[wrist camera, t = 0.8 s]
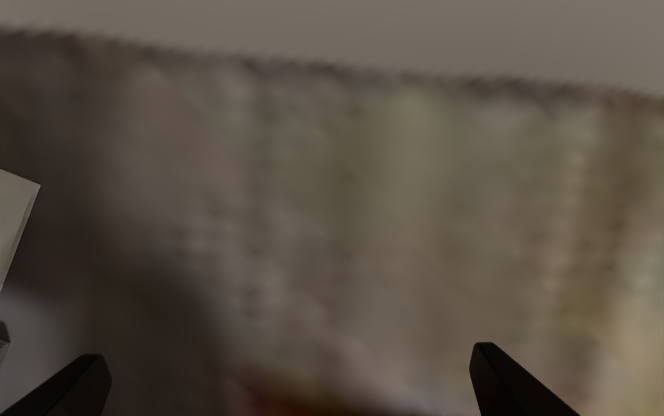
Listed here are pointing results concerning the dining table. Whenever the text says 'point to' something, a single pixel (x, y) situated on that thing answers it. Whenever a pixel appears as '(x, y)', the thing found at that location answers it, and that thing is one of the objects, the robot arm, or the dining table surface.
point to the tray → (13, 215)
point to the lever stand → (3, 349)
